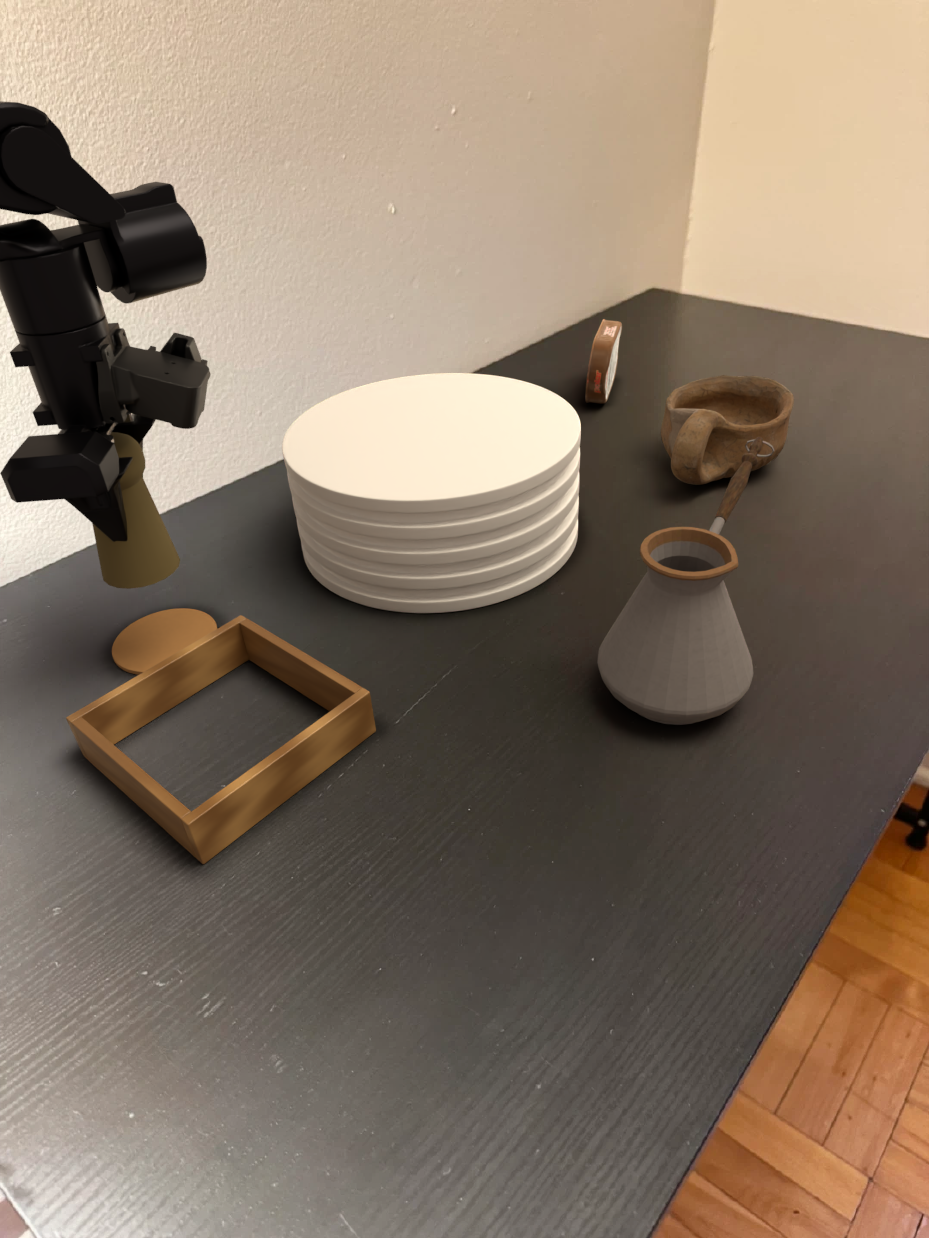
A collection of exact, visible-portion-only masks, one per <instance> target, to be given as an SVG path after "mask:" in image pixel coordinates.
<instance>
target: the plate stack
mask: <svg viewBox="0 0 929 1238" xmlns="http://www.w3.org/2000/svg"><path fill="white" fill-rule="evenodd" d="M581 424H582V423H581V419H580V417H579V414H578V412H577V411H576V409H575V408H574V407H573V406H572V405H571V404H570V403H569V402H568V401H567V400H566V399H564V398H563V397H561V396H560V395H559V394H557V393H555V392H553V391H551V390H550V389H547V388H545V387H543V386H540V385H537V384H534V383H531V382H528V381H524V380H520V379H516V378H513V377H507V376H501V375H500V376H499V375H495V374H494V375H493V374H483V373H470V372H469V373H468V372H442V373H441V372H440V373H425V374H415V375H406V376H399V377H393V378H388V379H383V380H379V381H374V382H371V383H370V382H369V383H366V384H364V385H360V386H356V387H353V388H349V389H347V390H344V391H342V392H339V393H336V394H334V395H331V396H329V397H328V398H325V399H324V400H321V401H320V402H318V403H316V404H314V405H312V406H311V407H310V408H308V409H306V410H305V411H304V412H302V413H301V414H300V415H299V416H297V418H296V419H294V421H293V422H292V423H291V424H290V425H289V427H288V428H287V430H286V431H285V433H284V436H283V439H282V443H281V452H282V457H283V460H284V462H283V463H284V465H285V469H286V475H287V476H286V477H287V482H288V487H289V490H290V493H291V500H292V506H293V507H292V508H293V511H294V514H295V517H296V526H297V530H298V535H299V539H300V546H301V551H302V557H303V560H304V563H305V565H306V567H307V569H308V570H309V573H311V575H312V576H313V578H314V579H316V581H317V582H319V584H321V585H322V586H323V587H324V588H326V589H327V590H329V591H330V592H332V593H333V594H335V595H337V596H339V597H341V598H343V599H345V600H347V601H350V602H353V603H356V604H359V605H362V606H365V607H369V608H373V609H378V610H383V611H388V612H389V611H390V612H396V613H408V614H441V613H443V614H444V613H452V612H461V611H468V610H473V609H478V608H482V607H488V606H492V605H495V604H498V603H501V602H503V601H507V600H510V599H513V598H515V597H518V596H520V595H522V594H525V593H527V592H529V591H531V590H533V589H535V588H536V587H538V586H539V585H541V584H543V583H544V582H546V581H548V580H549V579H550V578H551V577H553V576H554V575H555V574H556V573H557V572H558V571H560V570H561V569H562V568H563V566H564V565H566V563H567V562H568V561H569V560H570V558H571V556H572V554H573V552H574V551H575V548H576V545H577V542H578V536H579V509H580V508H579V507H580V497H579V496H580V495H579V493H580V466H581V447H580V446H581V437H582V436H581V434H582V425H581Z"/></svg>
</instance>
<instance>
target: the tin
mask: <svg viewBox="0 0 929 1238" xmlns="http://www.w3.org/2000/svg"><path fill="white" fill-rule="evenodd" d="M622 331H623V324H622V322H621V321H617V320H609V319H605V318H603V319H602V320H601V322H600V325H599V326H598V329H597V331H596V333H595V336H594V338H593V341H592V345H591V350H590V354H589V359H588V360H589V361H588V365H587V374H586V383H585V396H584V397H585V402H586V403H594V404H606V403H607V401H608V399H609V397H610V394H611V391H612V388H613V385H614V382H615V380H616V379H615V378H616V374H617V368H618V362H619V346H620V339H621V338H620V337H621V336H622Z"/></svg>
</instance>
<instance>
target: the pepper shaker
mask: <svg viewBox="0 0 929 1238" xmlns="http://www.w3.org/2000/svg"><path fill="white" fill-rule="evenodd" d="M110 435H112V436H113V438H114V445H115V448H116V451H117V454H118V457H119V458H122V457H133V460H132V461H131V463H130V465H129V467H128V468H127V470H126V472H125V473H124V475H123V477H122V478H121V479H120V486H121V492H122V498H123V503H124V509H125V515H126V520H127V535H128V540H127V541H115V542H113V541H112V540H111V539H109V538H108V537H107V536H106V535H105V534H104V533H103V532H102V531H101V530H99V529H98V528H97V527H96V526H95V525H94V524H93V523H92V522H91V524H92V529H93V534H94V535H93V536H94V540H95V545H96V550H97V556H98V560H99V565H100V571H101V577H102V580H103V582H104V583H106V584H107V586H109V587H110V586H111V587H113V588H116V589H126V590H127V589H128V590H130V589H139V588H145V587H147V586H151V585H155V584H157V583H159V582H161V581H164V580H166V579H167V578H168V577H170V576H171V575H173V574H174V573H175V572H176V571H177V569H178V568H179V567H180V563H181V558H180V556H179V553H178V551H177V549H176V547H175V545H174V543H173V540H172V538H171V536H170V534H169V531H168V529H167V528H166V525H165V523H164V521H163V518H162V516H161V514H160V512H159V510H158V507H157V505H156V503H155V501H154V498H153V497H152V495H151V492H150V490H149V488H148V486H147V484H146V481H145V479H144V473H145V470H146V457H145V454H144V450H143V451H142V448H141V447H140V445H139V443H138V442H137V441H136V440H135V439H134V438H132V437H131V436H129V435H127V434H123V433H118V432H111V434H110ZM142 475H143V477H142Z"/></svg>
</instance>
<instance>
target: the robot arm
mask: <svg viewBox="0 0 929 1238" xmlns="http://www.w3.org/2000/svg"><path fill="white" fill-rule="evenodd" d="M0 210H2V211H8V212H13V213H19V214H25V215H31V216H40V215H41V216H42V215H47V214H48V215H53V216H56V217H62V218H66V219H71V220H75V221H77V223H78V224H76V225H72V226H66V227H60V228H56V229H50V228H49V227H48V226H47V225H46V224H45V223H43V222H42V221H41V220H39V219H36V218H29V219H24V220H17V221H13V222H9V223H3V224H0V294H1V296H2V299H3V302H4V305H5V307H6V310H7V312H8V316H9V318H10V321H11V324H12V327H13V329H14V332H15V334H16V338H17V340H18V342H19V343H17V345H16V346H14V347H13V348H12V349H11V350H10V351H9V354H10V357H11V359H12V362H13V365H14V367H15V368H23V367H24V368H25V367H28V370H29V373H30V375H31V378H32V381H33V384H34V386H35V389H36V392H37V394H38V397H39V400H40V403H39V404H38V405H37V406H36V407H35V409H34V410H33V411H32V415H33V418H34V420H35V423H36V425H37V427H46V426H57V428H58V429H59V432H58V433H53V434H41V435H28V436H27V437H26V439H24V441H23V442H22V443H21V444H20V446H19V447H18V448H17V449H16V451H14V452H13V454H12V455H11V456H10V457H9V459H8V460H7V462H6V463H5V465H4V466H3V468H2V470H1V472H0V476H1V478H2V480H3V483H4V485H5V487H6V490H7V493H8V496H9V498H10V500H12V501H13V502H15V503H17V504H18V503H31V502H45V501H56V500H57V501H58V500H65V501H66V502H67V503H68V504H70V505H71V506H72V507H74V508H75V509H76V510H77V511H78V512H79V513H80V514H82V515H83V516H84V517H85V518H86V519H87V520H88V521H89V522H90V523H91V524H92V523H93V524H94V525H95V526H96V527H97V528H98V529H99V530H101V531H102V532H103V533H104V534H105V535H106V536H107V537H108V538H109V539H111V540H112V541H113V542H115V541H127V540H128V535H127V520H126V515H125V509H124V503H123V498H122V492H121V486H120V479H121V478H122V477H123V475H124V473H125V472H126V470H127V468H128V467H129V465H130V463H131V461H132V460H133V457H122V458H119V457H118V454H117V451H116V448H115V445H114V438H113V436H112V435H110V434H111V432H118V433H123V434H127V435H129V436H131V437H132V438H134V439H135V440H136V441H137V442H138V443H139V445H140V447H141V448H142V451H143V452H144V438H145V437H146V436H147V434H148V433H149V432H150V430H151V428H152V427H153V426H154V424H155V422H156V421H161V422H165V423H168V424H170V425H171V426H172V427H174V428H178V429H183V430H184V429H185V430H190V429H194V428H195V427H197V425H198V423H199V419H200V418H201V415H202V414H203V412H204V411H205V406H206V400H207V399H206V398H207V390H208V384H209V383H208V382H209V380H210V379H211V371H210V368H209V366H208V361H209V360H208V359H203V358H202V356H201V353H200V351H199V348H198V344H197V343H196V340H195V337H193V336H189V335H187V334H183V333H178V332H173V333H172V335H171V336H170V338H169V339H168V340H166V343H164V345H163V347H162V348H161V350H157V346H155V345H149V347H148V349H144V348H140V347H136V346H135V347H134V346H131V345H130V342H129V340H128V336H127V333H126V330H125V328H123V327H122V328H121V327H120V324H119V322H110V323H109V322H108V318H107V315H106V314H107V313H106V311H105V308H104V305H103V301H102V299H101V295H100V292H99V289H100V291H102V292H104V293H110V294H112V295H113V297H114V298H116V299H117V300H118V301H119V302H121V303H122V304H125V305H126V304H132V303H136V302H140V301H143V300H146V299H149V298H154V297H157V296H160V295H164V294H168V293H172V292H174V291H175V292H176V291H178V290H182V289H185V288H189V287H193V286H195V285H199V284H201V283H202V282H203V281H204V280H205V277H206V273H207V268H208V258H207V251H206V245H205V242H204V239H203V237H202V236H201V235H199V232H198V230H197V228H196V225H195V223H194V222H193V220H192V218H191V217H190V215H189V213H188V212H187V211H186V209H185V208H184V207H183V206H182V205H181V204H180V203H179V202H178V200H177V196H176V191H175V187H174V185H172V184H171V183H167V182H161V181H153V182H152V181H151V182H146V183H143V184H140V185H138V186H136V187H134V188H132V189H129V190H123V191H119V192H114V193H113V192H112V193H110V192H108V191H107V189H105V188H104V186H103V185H101V183H100V182H98V180H96V179H95V178H94V177H93V176H92V175H91V174H90V173H89V172H88V171H87V170H86V169H85V168H84V167H83V166H82V165H80V164H79V162H78V161H77V160H75V159H74V158H73V156H72V153H71V149H70V146H69V144H68V142H67V140H66V138H65V137H64V135H63V133H62V131H61V130H60V128H59V127H58V126H57V125H56V124H55V123H54V121H52V120H51V118H49V117H48V114H47V113H45V112H44V111H43V110H41V109H39V108H37V107H35V106H33V105H29V104H24V103H21V102H17V101H0ZM142 477H143V478H144V474H143V475H142ZM93 524H92V525H93Z"/></svg>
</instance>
